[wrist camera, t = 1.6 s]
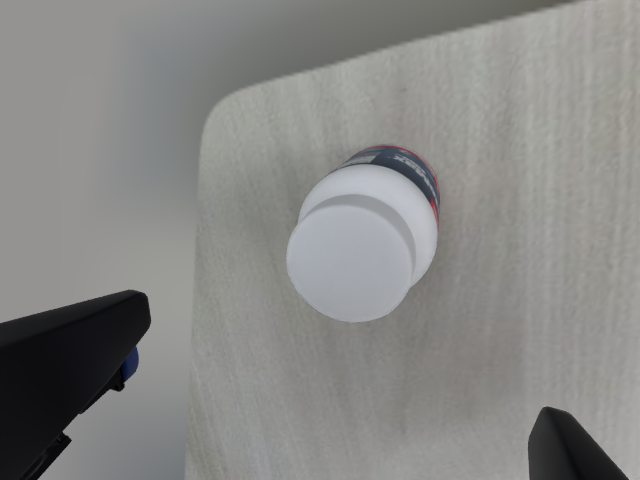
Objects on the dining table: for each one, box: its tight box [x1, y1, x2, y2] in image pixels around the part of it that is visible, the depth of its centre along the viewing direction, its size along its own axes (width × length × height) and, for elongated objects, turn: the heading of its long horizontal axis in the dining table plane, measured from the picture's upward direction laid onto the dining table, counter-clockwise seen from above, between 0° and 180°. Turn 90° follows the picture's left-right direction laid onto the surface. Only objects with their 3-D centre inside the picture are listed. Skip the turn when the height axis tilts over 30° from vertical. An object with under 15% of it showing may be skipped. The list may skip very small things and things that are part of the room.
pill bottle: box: [286, 144, 440, 322], centre depth 15 cm, size 5×5×9 cm
